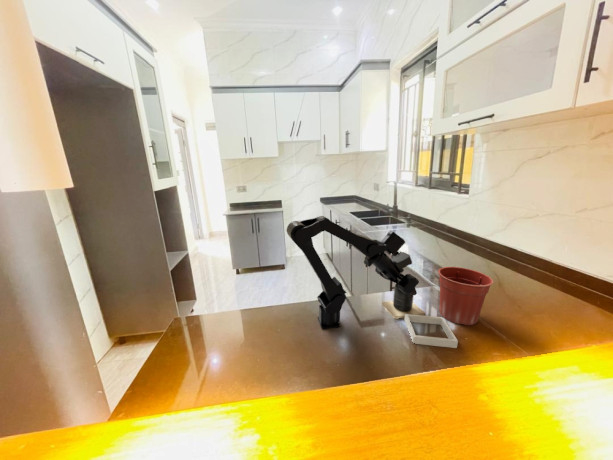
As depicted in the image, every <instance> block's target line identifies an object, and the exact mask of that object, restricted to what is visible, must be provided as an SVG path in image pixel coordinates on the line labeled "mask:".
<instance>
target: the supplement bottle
mask: <svg viewBox="0 0 613 460" xmlns="http://www.w3.org/2000/svg"><path fill="white" fill-rule="evenodd" d="M400 277H401V276H400ZM399 281H400V280H398V283H399ZM398 283H395V285H394V291H393V300H392V301H393V306H394V308H395V309H397V310H399V311H404V312H408V311H410V310H411V309H412V305H413V303H414V296H415V295H412V294H407V295H406V294H405V293H403V292H402V291H401V290H400V289H399V288H398V287H397V284H398Z"/></svg>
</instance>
